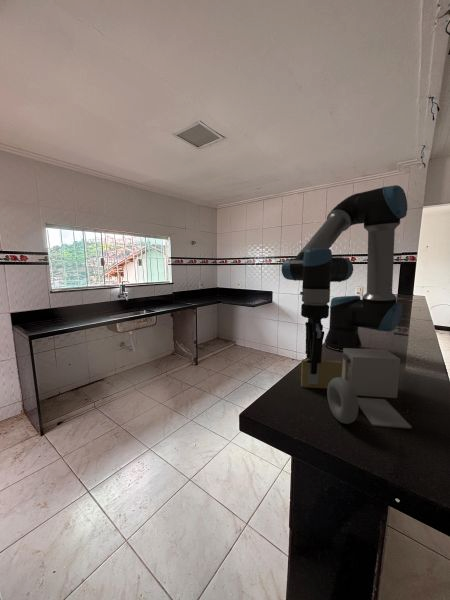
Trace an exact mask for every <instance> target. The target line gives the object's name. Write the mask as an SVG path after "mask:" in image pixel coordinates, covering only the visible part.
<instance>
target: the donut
mask: <svg viewBox="0 0 450 600" xmlns="http://www.w3.org/2000/svg"><path fill="white" fill-rule="evenodd" d="M326 394H327V395H326V396H327V402H328V405H329V409H330V411H331V413H332V415H333V417H335V419H336V420H337V421H338V422H340V423H341V424H347V425H350V424H352V423H354V422H355V421H356V419H357V417H358V416H359V415H358V413H359V406H358V400H357V398H358V396H357V395H356V393H355V391H354V389H353V387H352V385H351V384H350V383H349V382H348V381H347V380H345V379H343V378H342V376H341V377H337V378H333V379H332V380H331V381H330V382H329V385H328V389H327V388H326Z"/></svg>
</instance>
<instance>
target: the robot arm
mask: <svg viewBox="0 0 450 600" xmlns="http://www.w3.org/2000/svg"><path fill="white" fill-rule="evenodd" d="M407 213H408V200H407V195H406V193H405V190H404V188H403V187H401V186H400V185H390V186H382V187H379V188H375V189H372V190H371V189H369V190H367V191H366V190H365V191H362V192H358V193H353V194H351V195H350V196H347V197H346V198H345V199H343V200H341V202H339V203H338V204H337V205H336V206H335V207H333V208H332V209H331V211H329V213H328V214H327V216H326V221H325V222H324V223H323V224H322V225H321V227H320V228H319V229H318V230H317V231H316V232H315V234H314V235H313V236H312V237H311V238H310V239H309V241H308V242H307V243H306V244H305V246H304V247H303V248H302V249H301V250H300V251H299V252H298V254H297V255H296V256H295V257H294V258H287V259H285V260H284V261H283V262H282V265H281V274H282V276H283V278H284V279H286V280H289V281H295V282H296V281H300V282H301V281H302V286H301V288H302V289H301V291H300V292H299V295H301V302H302V304H301V305H300V306H301V309H300V310H301V311H300V315H301V317H303V318H305V319H307V321H306V322H305V323H304V324H305V352H304V353H305V354H306V359H308V360H307V363H308V384H318V365H319V363H321V360H322V355H323V353H322V352H323V343H325V342H326V346H329V347H331V348H334V349H339V350H343V348H355V349H362V341H361V338H360V334H359V328H362V329H363V328H364V329H368V330H369V329H370V330H375V331H379V332H387V333H388V332H389V333H391V332H393V331H394V330H395V329H397V327H398V325H399V323H400V322H401V318H402V315H403V305H402V303H400V302H399V301H398V302H397V299H398V297H397V295H395V294H394V293H393V284H394V283H393V282H394V281H393V280H394V279H393V278H394V255H395V236H396V235H395V234H396V233H395V232H396V229H397V227H399V226H400V224H401V219H404V218H406V216H407ZM358 224H359V225H360V224H363V228H364V229H365V230H366V231H367V260H366V261H367V270H366V271H367V272H366V274H367V275H366V293H365V294H363V295H362V298H361V296H360V295H346V296H336V297H335V296H334V297H333V298H331V283H341V282H345V281H348V280H349V279H350V278H351V276H352V275H353V272H354V265H353V263H352V261H351V260H349V259H348V258H346V257H342V256H337V257H336V256H333V251H332V250H331V247H332V246H333V244H335V242H336V240H337V239H339V237H340V235H342V233H343V232H345V231H347V230H348V229H349V228H350V227H351V226H354V225H358ZM329 303H330V304H329ZM327 318H328V319H329V329H328V331H327V334H326V335H325V331H324V330H323V328H324V324H322V320H323V319H327ZM324 338H325V339H324Z"/></svg>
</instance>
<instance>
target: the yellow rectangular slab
mask: <svg viewBox="0 0 450 600" xmlns="http://www.w3.org/2000/svg"><path fill="white" fill-rule="evenodd" d="M307 360H308V358H306V359H303V358H302V359H301V372H300V373H301V374H300V376H301V377H300V378H301V379H300V386H301V387H302V388H312V389H326V390H327V389H328V385H329V382H330V381H331V380H332V379H333V378H337V377H341V378H342V363H343V361H341V360H329V359H328V360H326V359H325V360H324V359H321V363H319V365H318V384H308V363H307Z"/></svg>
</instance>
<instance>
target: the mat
mask: <svg viewBox="0 0 450 600" xmlns="http://www.w3.org/2000/svg"><path fill="white" fill-rule="evenodd" d="M357 400H358V408H359V409H360V410H361V411H362V413H363V414H364V416H365V417H366V418H367V420H368V421H369V423H370V424H371V425H372V426H375V427H385V428H387V427H388V428H400V429H412V428H413V427H412V425H411V424H410V423H409V422H407V420H406V418H404V417H403V416H402V415H401V414H400V413H399V412H398V411H397V410H396V409H395V408H394V407H393V406H392V405H391V404H390V403H389V401H387V400H386V399H383V398H369V397H357Z"/></svg>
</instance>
